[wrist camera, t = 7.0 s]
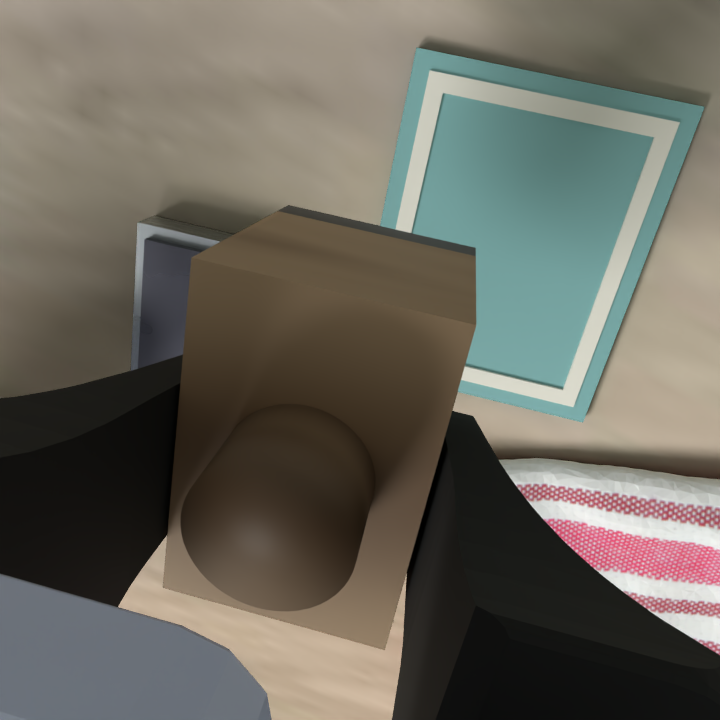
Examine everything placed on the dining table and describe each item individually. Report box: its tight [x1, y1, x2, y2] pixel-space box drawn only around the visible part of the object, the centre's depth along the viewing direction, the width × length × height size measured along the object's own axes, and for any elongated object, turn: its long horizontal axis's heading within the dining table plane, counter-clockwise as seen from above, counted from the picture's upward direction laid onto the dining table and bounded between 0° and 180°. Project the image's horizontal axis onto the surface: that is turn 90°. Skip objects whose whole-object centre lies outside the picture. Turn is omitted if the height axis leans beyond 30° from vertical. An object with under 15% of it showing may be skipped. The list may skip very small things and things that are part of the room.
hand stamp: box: [163, 205, 476, 650], centre depth 11 cm, size 6×4×7 cm, turn 169°
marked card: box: [380, 48, 704, 422], centre depth 20 cm, size 10×8×1 cm
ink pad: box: [131, 216, 234, 371], centre depth 22 cm, size 8×6×2 cm
